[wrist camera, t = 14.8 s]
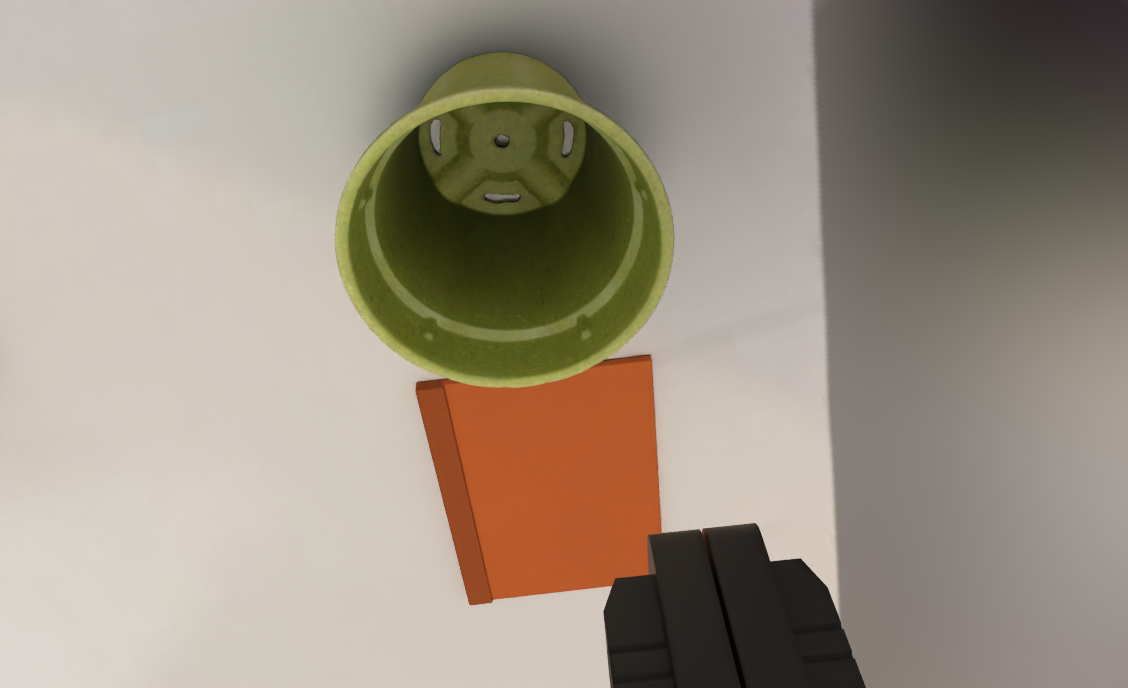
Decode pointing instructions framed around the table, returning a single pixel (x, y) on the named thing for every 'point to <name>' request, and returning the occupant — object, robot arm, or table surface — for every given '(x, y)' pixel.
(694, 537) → the robot arm
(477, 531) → the orange rectangular block
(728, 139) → the table surface
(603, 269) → the plant pot
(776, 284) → the table surface
